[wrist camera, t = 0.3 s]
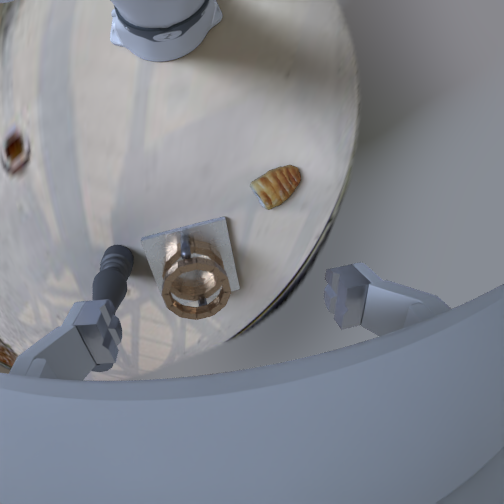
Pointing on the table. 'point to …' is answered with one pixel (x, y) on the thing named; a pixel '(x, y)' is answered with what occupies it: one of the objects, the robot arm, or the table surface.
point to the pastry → (276, 185)
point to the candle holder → (112, 282)
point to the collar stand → (193, 267)
